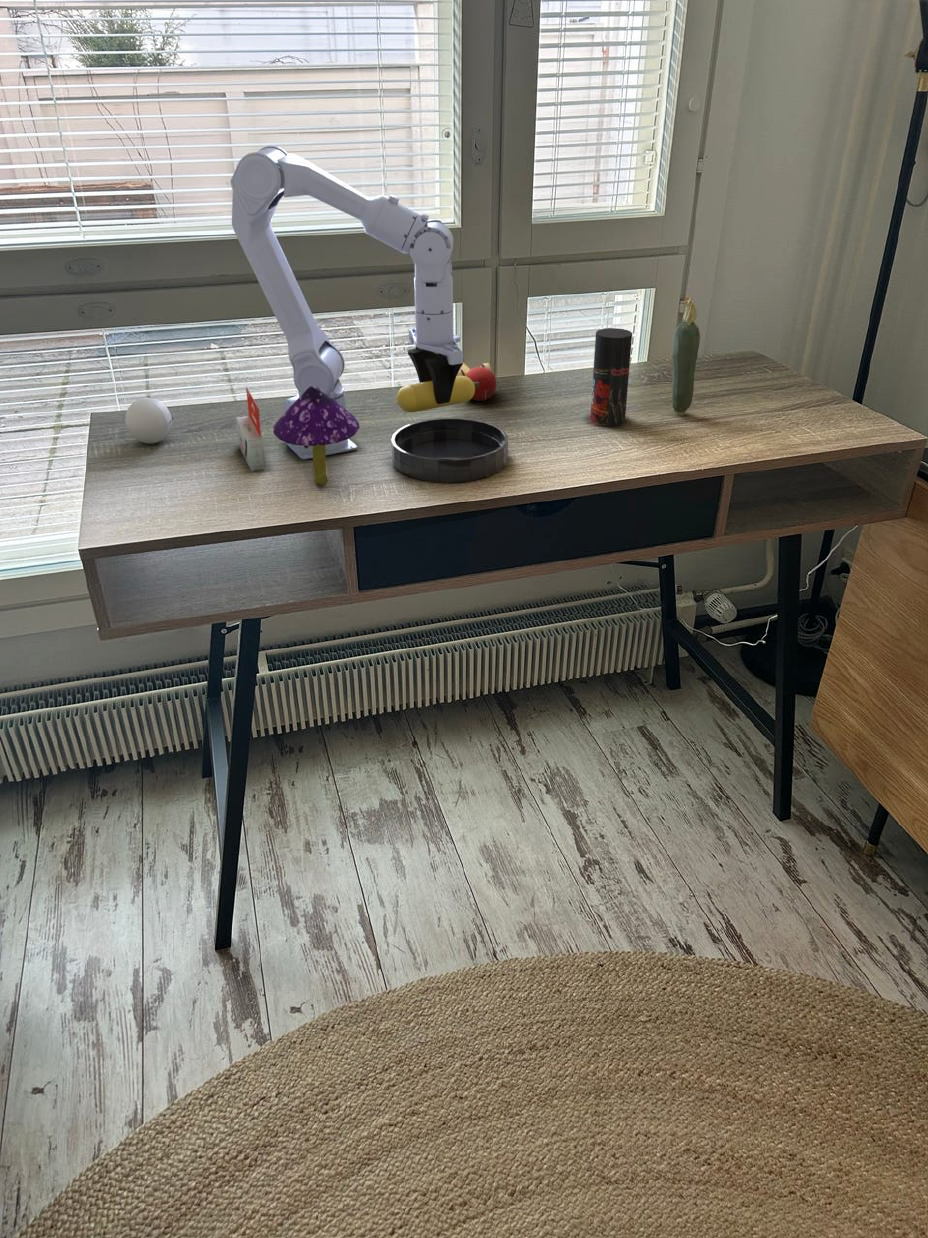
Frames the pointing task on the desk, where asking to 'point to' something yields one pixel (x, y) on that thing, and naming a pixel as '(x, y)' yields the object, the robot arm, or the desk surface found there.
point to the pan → (449, 449)
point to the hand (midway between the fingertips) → (436, 398)
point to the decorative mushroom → (316, 426)
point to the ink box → (251, 436)
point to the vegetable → (685, 359)
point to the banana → (424, 399)
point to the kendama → (480, 380)
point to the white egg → (148, 420)
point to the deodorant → (610, 376)
